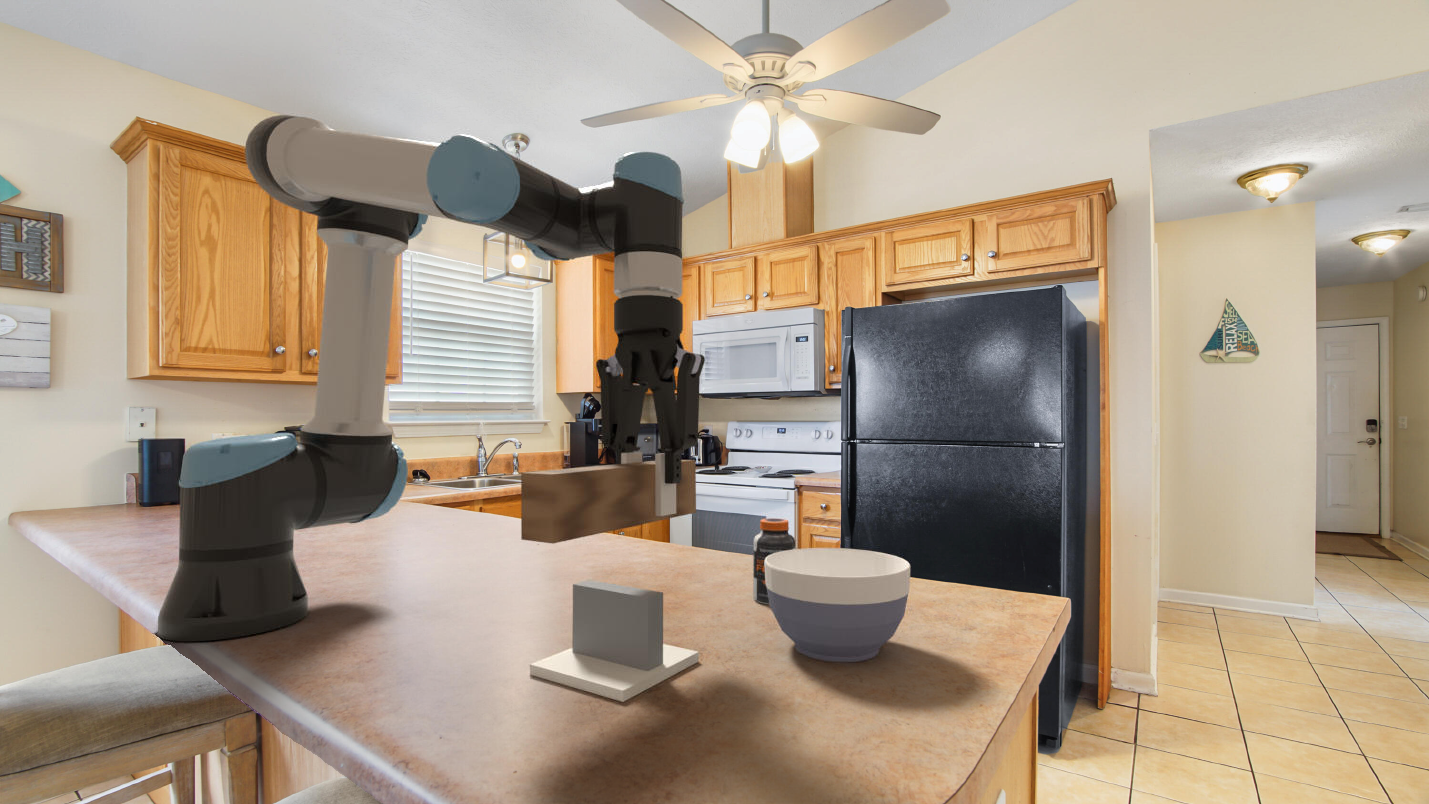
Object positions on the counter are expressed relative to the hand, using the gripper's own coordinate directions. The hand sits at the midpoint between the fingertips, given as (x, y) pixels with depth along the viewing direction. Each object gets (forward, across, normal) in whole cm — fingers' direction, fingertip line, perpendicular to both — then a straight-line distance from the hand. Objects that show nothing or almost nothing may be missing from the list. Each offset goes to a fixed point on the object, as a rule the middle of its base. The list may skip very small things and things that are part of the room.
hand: (648, 512), depth 72 cm
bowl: (+15, -16, -13) cm, 26 cm away
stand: (+15, 0, +5) cm, 16 cm away
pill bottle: (+15, -1, -27) cm, 31 cm away
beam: (+1, 0, +5) cm, 5 cm away
